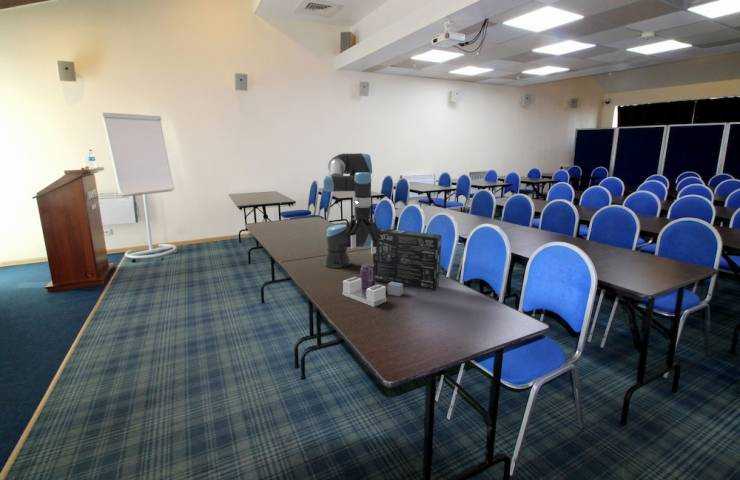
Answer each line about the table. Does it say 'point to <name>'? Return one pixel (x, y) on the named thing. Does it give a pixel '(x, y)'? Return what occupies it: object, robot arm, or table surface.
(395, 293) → the block
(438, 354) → the table surface
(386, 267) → the box
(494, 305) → the table surface
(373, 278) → the beverage can
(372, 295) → the block
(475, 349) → the table surface
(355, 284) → the block
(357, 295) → the white base plate
